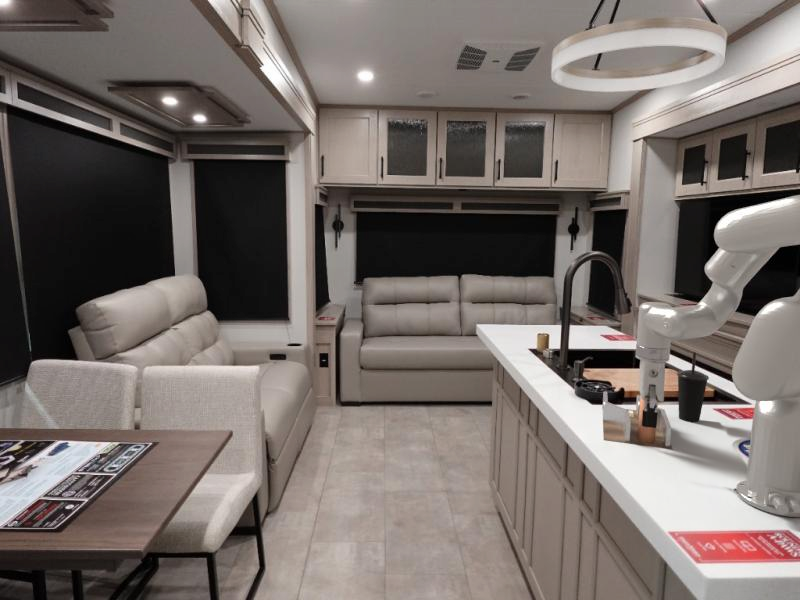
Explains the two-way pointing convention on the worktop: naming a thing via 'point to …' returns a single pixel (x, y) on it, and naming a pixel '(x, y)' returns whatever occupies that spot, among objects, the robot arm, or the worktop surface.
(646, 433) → the peg
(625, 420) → the bent rails
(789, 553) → the worktop surface
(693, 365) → the drinking cup
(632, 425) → the channel board
